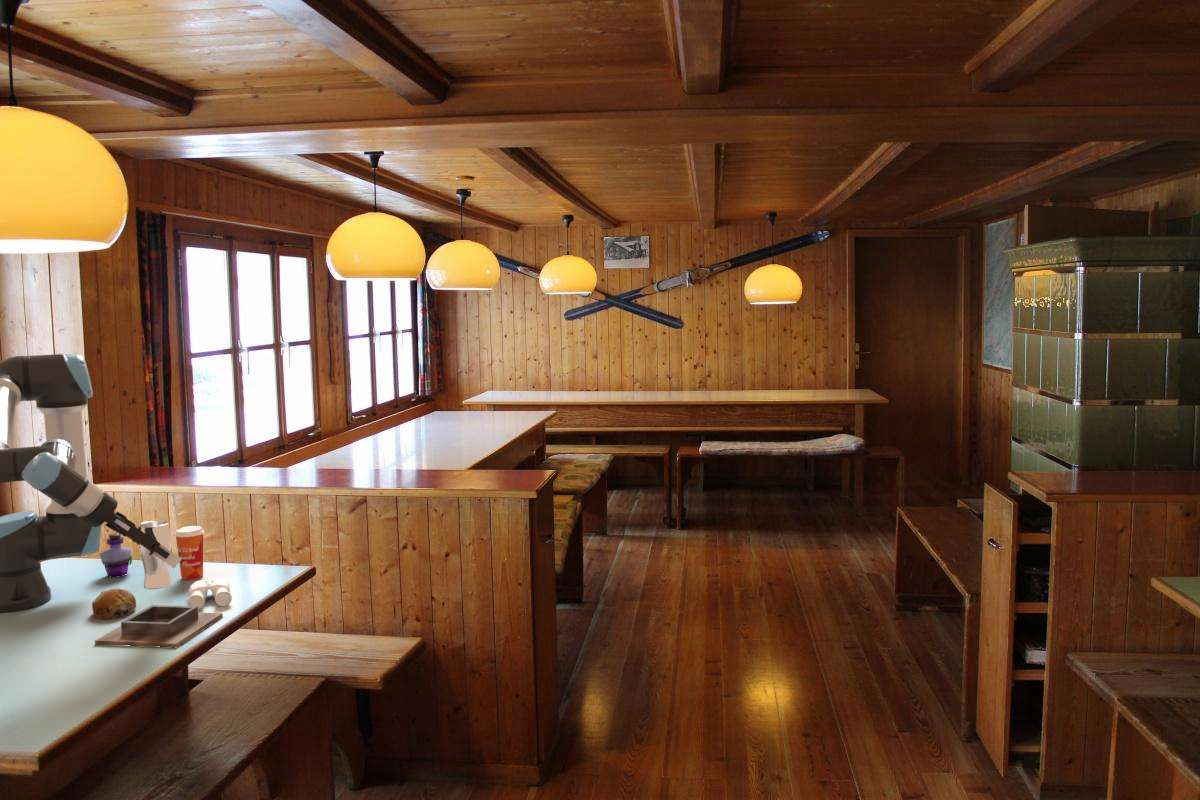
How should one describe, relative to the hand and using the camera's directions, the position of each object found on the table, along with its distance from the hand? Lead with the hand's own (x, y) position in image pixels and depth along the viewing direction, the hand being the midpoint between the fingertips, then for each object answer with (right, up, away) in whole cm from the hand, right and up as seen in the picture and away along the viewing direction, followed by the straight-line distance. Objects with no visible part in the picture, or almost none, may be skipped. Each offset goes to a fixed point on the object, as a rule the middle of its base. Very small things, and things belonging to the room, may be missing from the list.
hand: (171, 559), depth 221 cm
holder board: (-3, -17, 0) cm, 17 cm away
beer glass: (-3, -6, -2) cm, 7 cm away
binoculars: (0, -15, +23) cm, 27 cm away
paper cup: (-13, -12, +42) cm, 45 cm away
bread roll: (-20, -16, +13) cm, 29 cm away
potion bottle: (-36, -12, +45) cm, 59 cm away
